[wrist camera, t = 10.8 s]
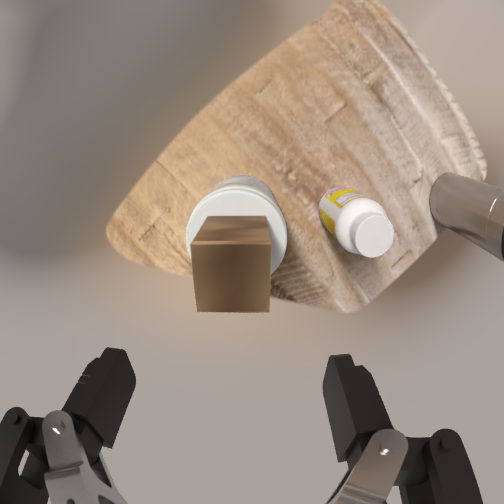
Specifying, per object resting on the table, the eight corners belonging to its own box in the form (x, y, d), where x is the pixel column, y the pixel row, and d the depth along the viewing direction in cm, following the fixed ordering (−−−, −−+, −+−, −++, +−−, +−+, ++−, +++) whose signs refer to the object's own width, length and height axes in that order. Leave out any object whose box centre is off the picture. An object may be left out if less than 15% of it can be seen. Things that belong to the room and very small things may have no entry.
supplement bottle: (346, 237, 39) (380, 276, 27) (309, 218, 38) (334, 252, 26) (367, 199, 37) (411, 224, 25) (330, 177, 36) (366, 194, 24)
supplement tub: (283, 230, 39) (299, 277, 25) (220, 246, 40) (204, 300, 26) (266, 164, 35) (275, 176, 22) (199, 183, 36) (169, 207, 23)
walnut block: (265, 215, 23) (271, 244, 17) (264, 268, 25) (269, 312, 19) (207, 215, 23) (189, 244, 17) (210, 268, 25) (197, 311, 19)
